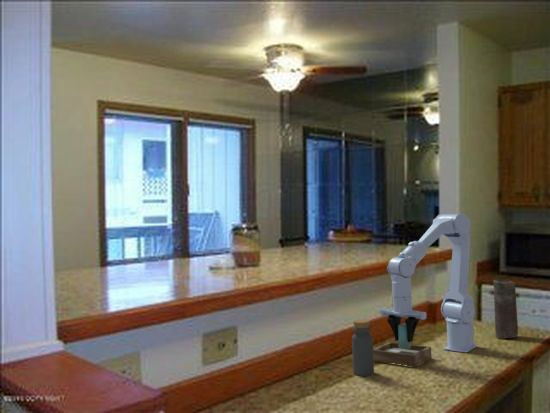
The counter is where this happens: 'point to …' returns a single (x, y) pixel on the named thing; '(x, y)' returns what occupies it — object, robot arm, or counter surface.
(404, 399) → the counter surface
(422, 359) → the box
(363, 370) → the bottle
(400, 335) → the peg
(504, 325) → the candle
